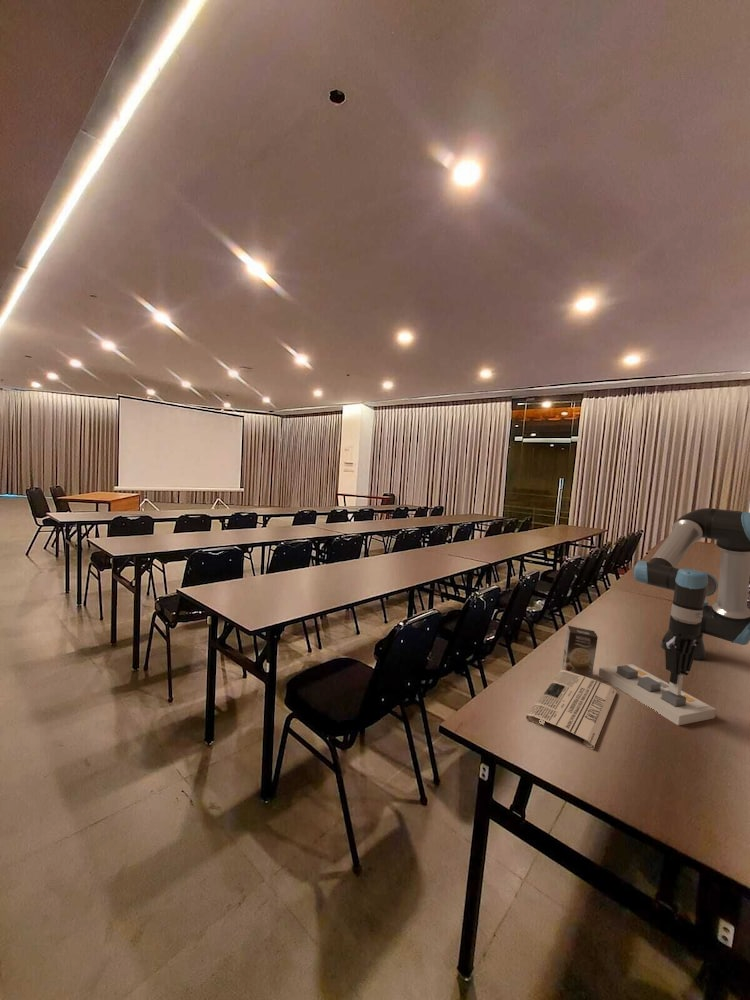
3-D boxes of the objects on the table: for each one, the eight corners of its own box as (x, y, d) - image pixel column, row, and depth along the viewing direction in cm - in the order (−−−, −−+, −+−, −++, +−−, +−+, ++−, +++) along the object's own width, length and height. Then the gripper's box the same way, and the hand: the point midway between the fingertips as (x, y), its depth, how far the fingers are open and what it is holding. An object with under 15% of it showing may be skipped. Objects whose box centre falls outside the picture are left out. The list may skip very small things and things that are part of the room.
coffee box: (563, 674, 144) (569, 631, 143) (561, 666, 150) (566, 625, 149) (592, 681, 141) (598, 637, 140) (589, 672, 147) (594, 630, 146)
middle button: (646, 686, 136) (648, 676, 136) (659, 693, 132) (660, 683, 132) (637, 687, 135) (638, 678, 135) (649, 694, 131) (651, 685, 130)
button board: (631, 671, 150) (632, 662, 150) (714, 718, 124) (716, 707, 123) (598, 675, 145) (599, 667, 145) (678, 725, 119) (679, 714, 118)
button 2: (670, 699, 129) (672, 689, 128) (684, 707, 125) (686, 697, 124) (660, 701, 127) (662, 691, 127) (674, 709, 123) (676, 699, 123)
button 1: (625, 673, 144) (626, 665, 144) (636, 680, 140) (638, 671, 139) (616, 675, 142) (617, 666, 142) (627, 681, 138) (628, 672, 138)
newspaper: (559, 674, 145) (560, 667, 144) (621, 697, 133) (623, 689, 132) (525, 721, 116) (526, 712, 116) (600, 755, 104) (602, 745, 104)
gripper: (683, 625, 118) (671, 702, 120) (713, 623, 122) (701, 697, 124) (658, 616, 125) (647, 688, 127) (687, 614, 129) (676, 684, 131)
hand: (674, 692), depth 126 cm, fingers closed
